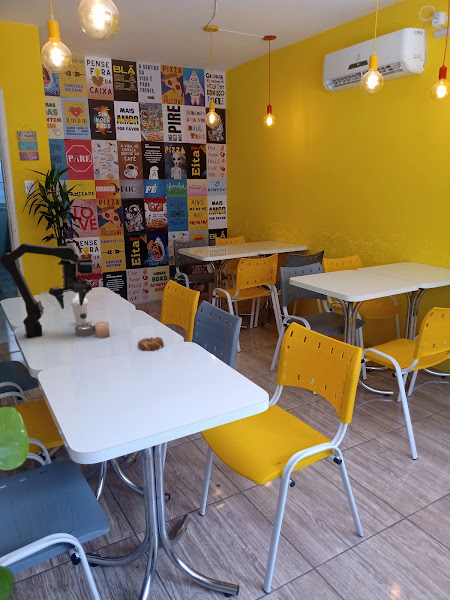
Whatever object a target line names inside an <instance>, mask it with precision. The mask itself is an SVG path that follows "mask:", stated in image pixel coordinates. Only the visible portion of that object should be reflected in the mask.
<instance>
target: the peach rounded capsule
mask: <svg viewBox="0 0 450 600" xmlns="http://www.w3.org/2000/svg"><path fill="white" fill-rule="evenodd" d="M109 324H110V323H109V322H108V321H99V322H95V323H94V325H95V331H96V332H95V337H96V338H97V339H105V338H109V336H110V325H109Z"/></svg>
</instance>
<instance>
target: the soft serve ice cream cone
mask: <svg viewBox="0 0 450 600" xmlns="http://www.w3.org/2000/svg"><path fill="white" fill-rule="evenodd" d="M88 304H89V299H88V298H86V297H85V298H84V301H83V304H82V306H80V302H79V294H78V293H77V294H76V295H75V297H74V298H72V300H71V301H70V305H71V308H72V312H73V316H74V319H75V322H76V325H77V326H79V325H83V318H80V314H82V313H86V316H88ZM86 323H87V317H86V318H85V325H87V324H86Z"/></svg>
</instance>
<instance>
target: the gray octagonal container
mask: <svg viewBox="0 0 450 600" xmlns="http://www.w3.org/2000/svg"><path fill="white" fill-rule="evenodd" d="M87 325H88V326H90V327H91V328H88V329H78V327H79V326H83V325H77V326H75V327H74V330H75V331H74V333H75V336H76V337H77V338H88V337H91V336H93V335H95V333H96V331H95V324H94V325H92V324H87Z"/></svg>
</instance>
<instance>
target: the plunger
mask: <svg viewBox="0 0 450 600" xmlns="http://www.w3.org/2000/svg"><path fill="white" fill-rule="evenodd" d="M87 316H88V315H87ZM87 316H86V313H82V314H80V318H83V326H79V325H78V326H79V327H78V329H88V328H91V327H90V326H88V325H89V324H85V318H86V319H87Z"/></svg>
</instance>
